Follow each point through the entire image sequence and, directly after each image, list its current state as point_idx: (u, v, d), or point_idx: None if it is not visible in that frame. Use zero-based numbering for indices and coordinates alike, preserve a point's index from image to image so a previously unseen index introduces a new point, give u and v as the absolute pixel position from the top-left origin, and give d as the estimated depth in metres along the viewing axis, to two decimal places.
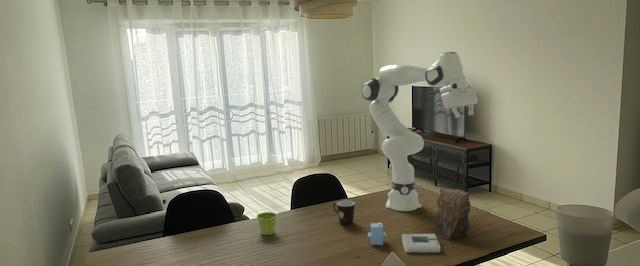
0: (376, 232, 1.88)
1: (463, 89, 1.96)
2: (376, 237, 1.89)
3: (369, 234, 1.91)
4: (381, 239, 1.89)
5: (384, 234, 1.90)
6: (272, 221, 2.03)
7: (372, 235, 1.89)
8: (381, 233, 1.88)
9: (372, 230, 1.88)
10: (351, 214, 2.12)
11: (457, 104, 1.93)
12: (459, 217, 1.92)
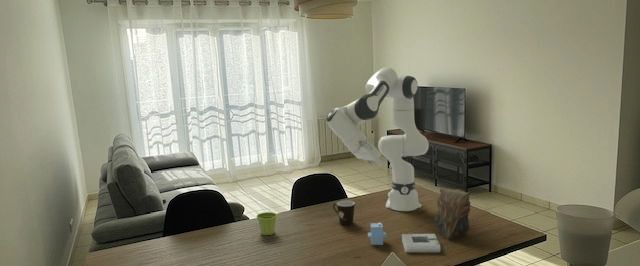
0: (376, 232, 1.88)
1: (354, 150, 1.85)
2: (376, 237, 1.89)
3: (369, 234, 1.91)
4: (381, 239, 1.89)
5: (384, 234, 1.90)
6: (272, 221, 2.03)
7: (372, 235, 1.89)
8: (381, 233, 1.88)
9: (372, 230, 1.88)
10: (351, 214, 2.12)
11: (360, 158, 1.91)
12: (459, 217, 1.92)
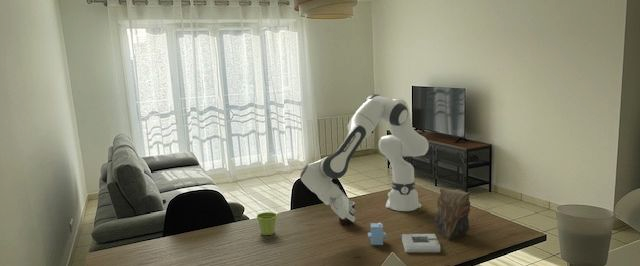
0: (376, 232, 1.88)
1: None
2: (376, 237, 1.89)
3: (369, 234, 1.91)
4: (381, 239, 1.89)
5: (384, 234, 1.90)
6: (272, 221, 2.03)
7: (372, 235, 1.89)
8: (381, 233, 1.88)
9: (372, 230, 1.88)
10: (351, 214, 2.12)
11: None
12: (459, 217, 1.92)
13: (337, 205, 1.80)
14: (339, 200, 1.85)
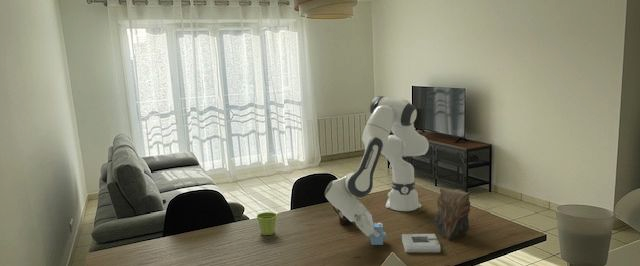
0: None
1: None
2: (376, 237, 1.89)
3: None
4: (381, 239, 1.89)
5: (384, 234, 1.90)
6: (272, 221, 2.03)
7: (372, 235, 1.89)
8: (381, 233, 1.88)
9: None
10: None
11: None
12: (459, 217, 1.92)
13: (363, 223, 1.81)
14: (364, 217, 1.86)
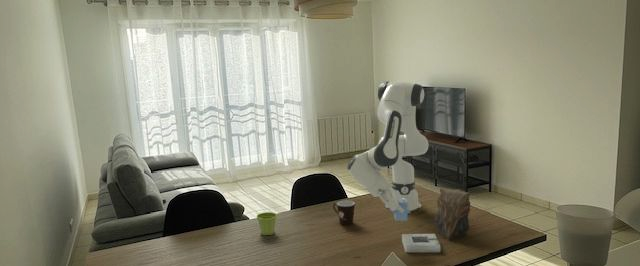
0: None
1: None
2: (400, 213, 1.84)
3: None
4: (405, 215, 1.84)
5: (408, 210, 1.85)
6: (272, 221, 2.03)
7: (396, 210, 1.84)
8: (405, 208, 1.84)
9: None
10: (351, 214, 2.12)
11: None
12: (459, 217, 1.92)
13: (387, 197, 1.76)
14: (388, 192, 1.81)
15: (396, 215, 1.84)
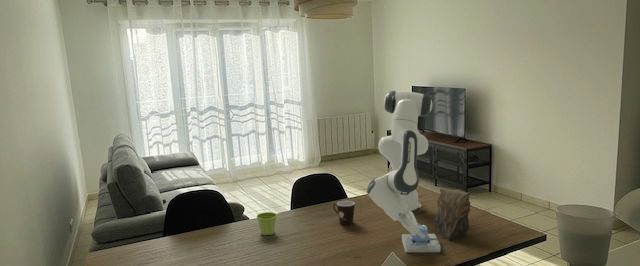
0: None
1: None
2: (420, 240, 1.84)
3: (412, 236, 1.86)
4: None
5: (428, 236, 1.85)
6: (272, 221, 2.03)
7: (416, 237, 1.84)
8: (425, 235, 1.83)
9: None
10: (351, 214, 2.12)
11: None
12: (459, 217, 1.92)
13: (408, 221, 1.75)
14: (408, 216, 1.80)
15: (416, 242, 1.84)
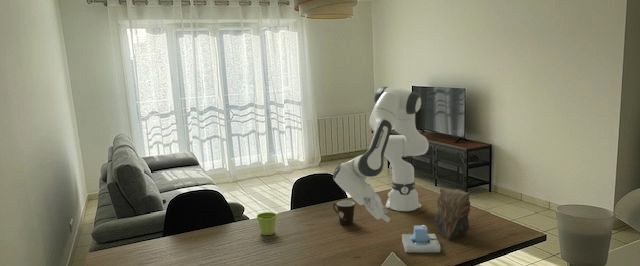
0: (420, 234, 1.83)
1: None
2: (420, 240, 1.84)
3: (412, 236, 1.86)
4: None
5: (428, 236, 1.85)
6: (272, 221, 2.03)
7: (416, 237, 1.84)
8: (425, 235, 1.83)
9: (416, 233, 1.83)
10: (351, 214, 2.12)
11: None
12: (459, 217, 1.92)
13: (372, 206, 1.77)
14: (373, 200, 1.82)
15: (416, 242, 1.84)
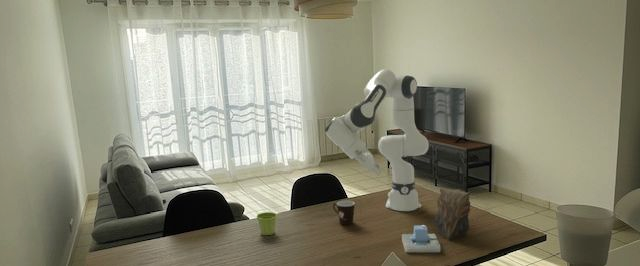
0: (420, 234, 1.83)
1: None
2: (420, 240, 1.84)
3: (412, 236, 1.86)
4: None
5: (428, 236, 1.85)
6: (272, 221, 2.03)
7: (416, 237, 1.84)
8: (425, 235, 1.83)
9: (416, 233, 1.83)
10: (351, 214, 2.12)
11: None
12: (459, 217, 1.92)
13: (364, 157, 1.78)
14: (365, 153, 1.83)
15: (416, 242, 1.84)
